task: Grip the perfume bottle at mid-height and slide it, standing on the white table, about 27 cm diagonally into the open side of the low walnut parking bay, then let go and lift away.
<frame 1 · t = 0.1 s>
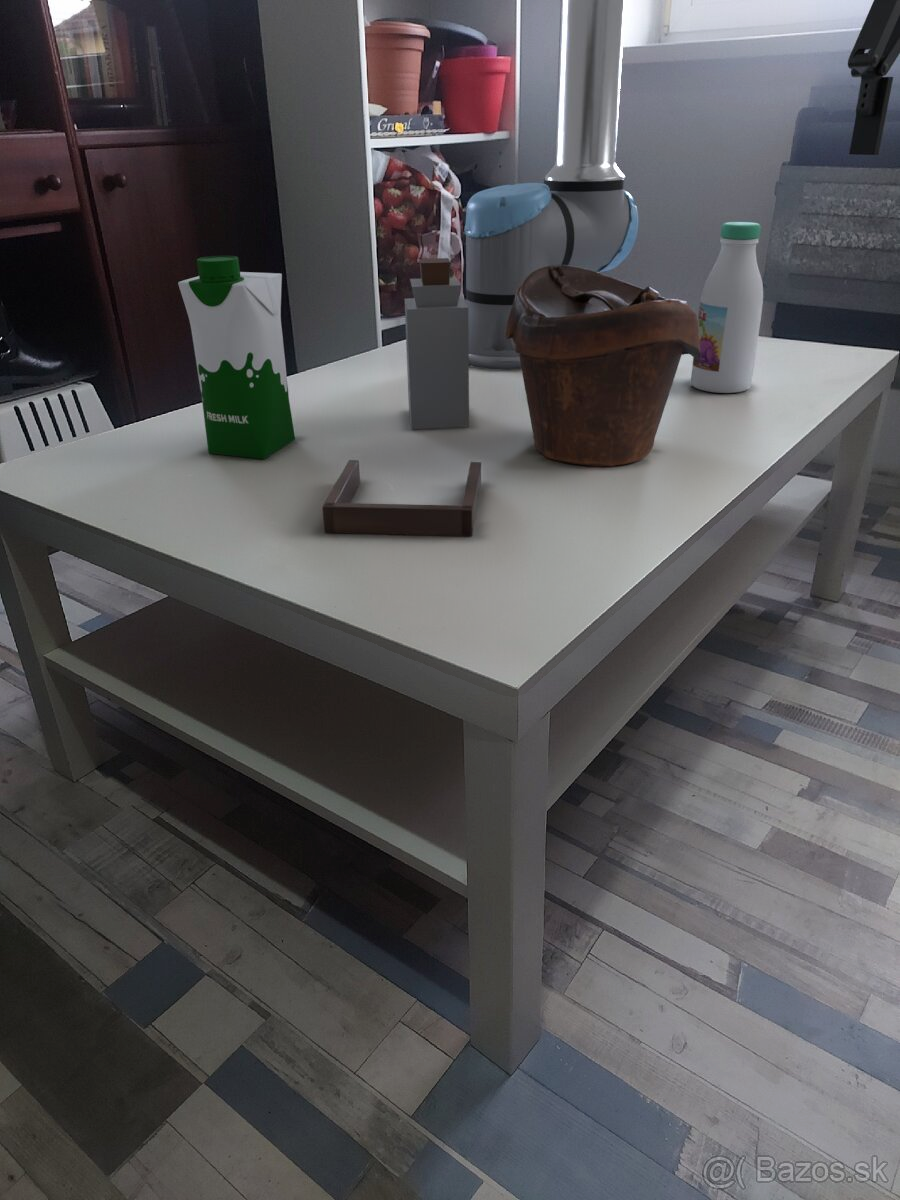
milk bottle: (720, 388, 118), on the table
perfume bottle: (438, 421, 107), on the table
parking bay: (407, 506, 83), on the table
case: (595, 450, 97), on the table
milk carton: (253, 448, 99), on the table
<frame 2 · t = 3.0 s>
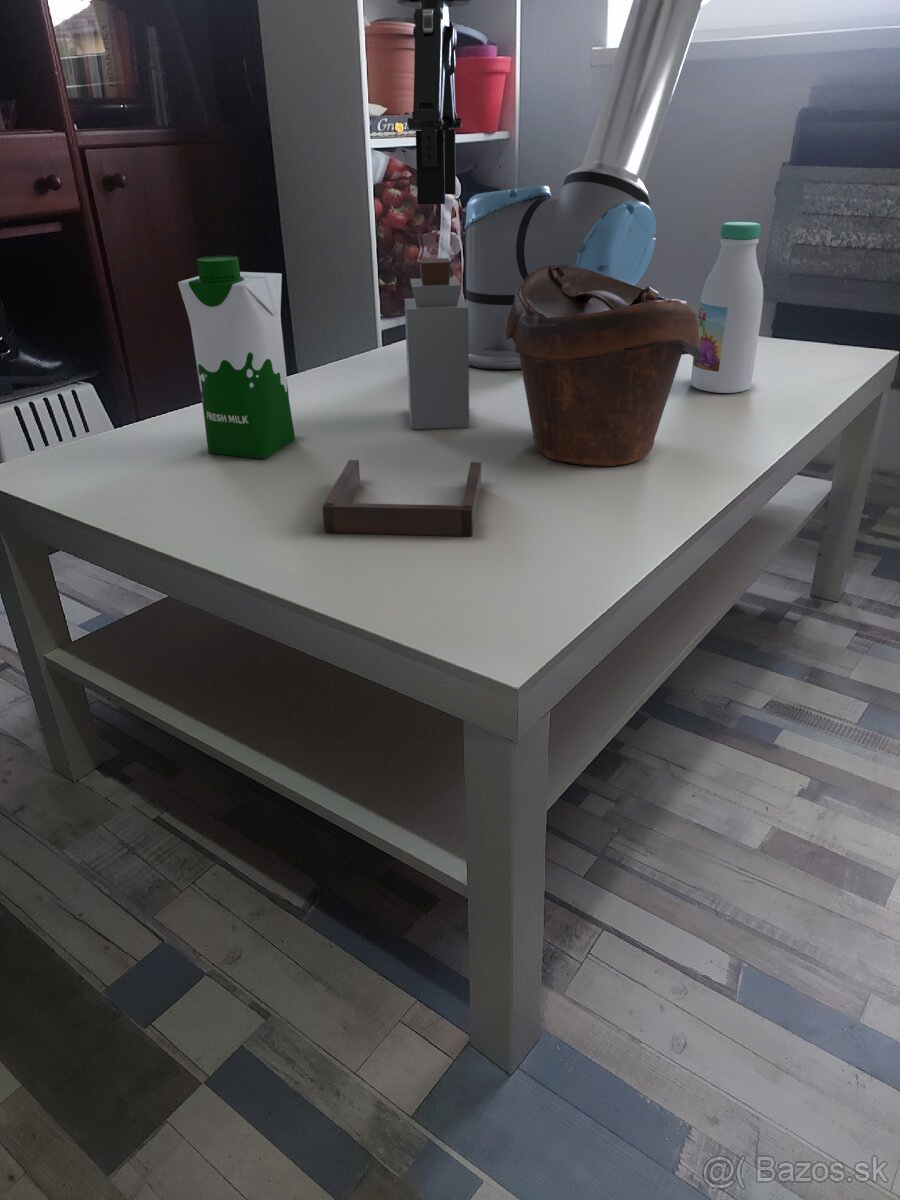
hand: (437, 199, 95), 24 cm above the table, tool pointing down, fingers open, 13 cm apart
nothing on the table moved.
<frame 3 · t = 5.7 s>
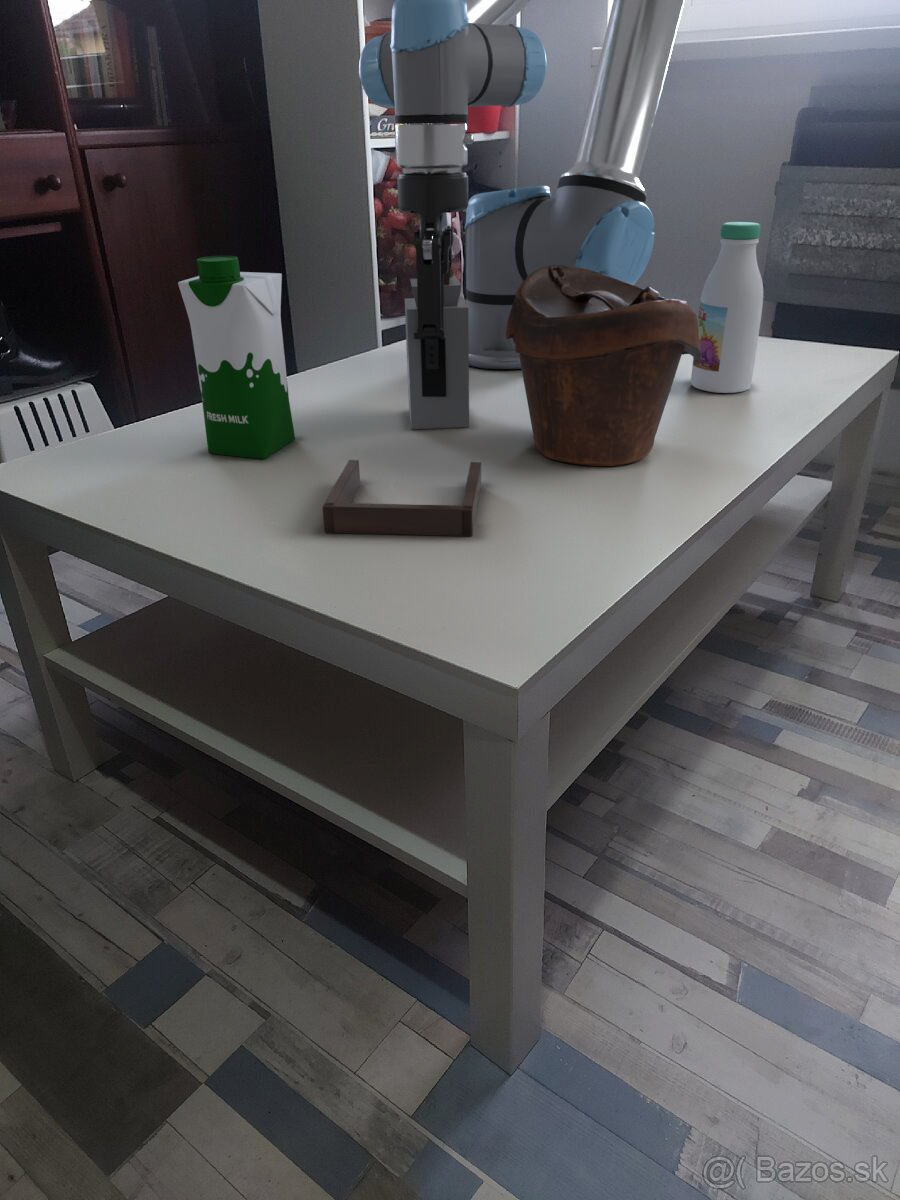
hand: (437, 387, 105), 4 cm above the table, tool pointing down, fingers closed on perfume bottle, 6 cm apart
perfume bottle: (438, 421, 107), on the table, touching gripper
everything else where it was.
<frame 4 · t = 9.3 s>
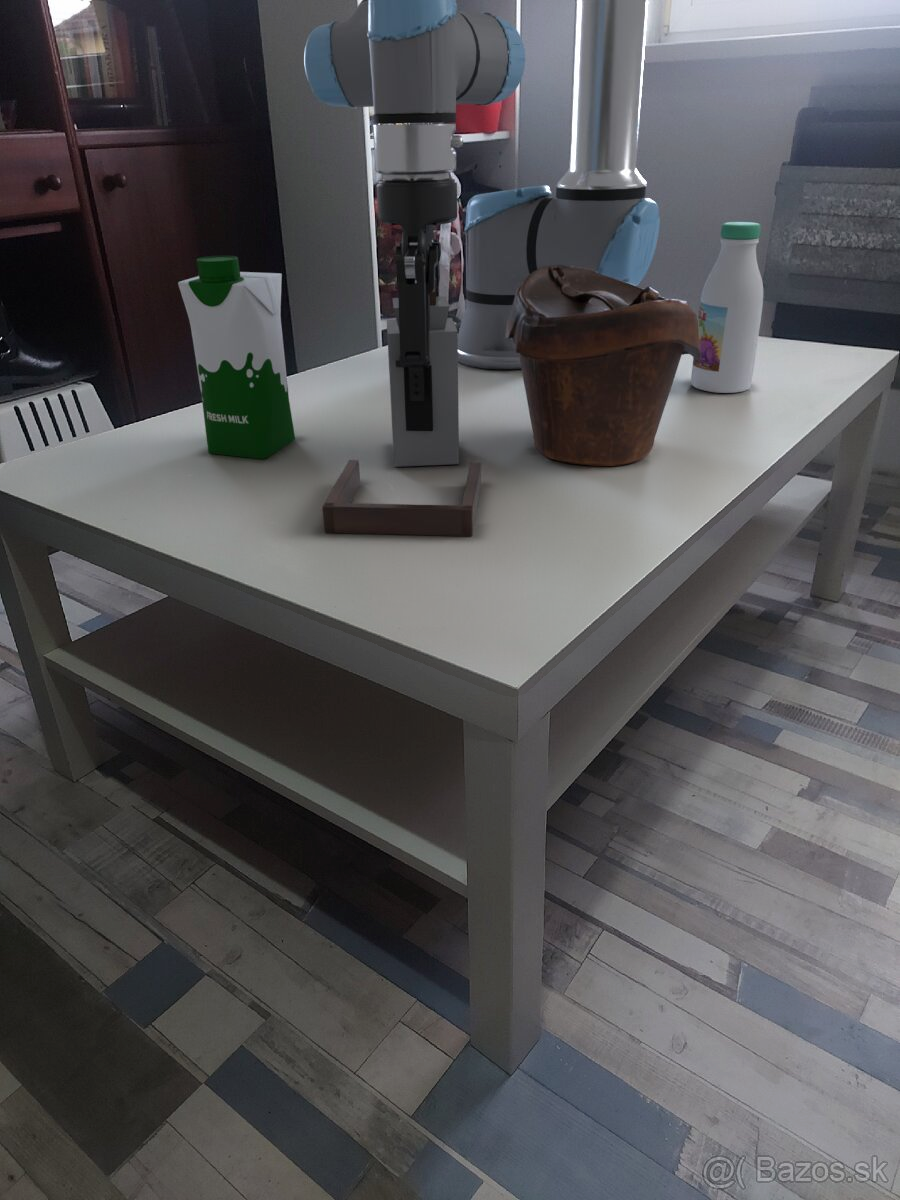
hand: (423, 419, 93), 4 cm above the table, tool pointing down, fingers closed on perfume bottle, 6 cm apart
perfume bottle: (425, 456, 95), on the table, touching gripper
everything else where it was.
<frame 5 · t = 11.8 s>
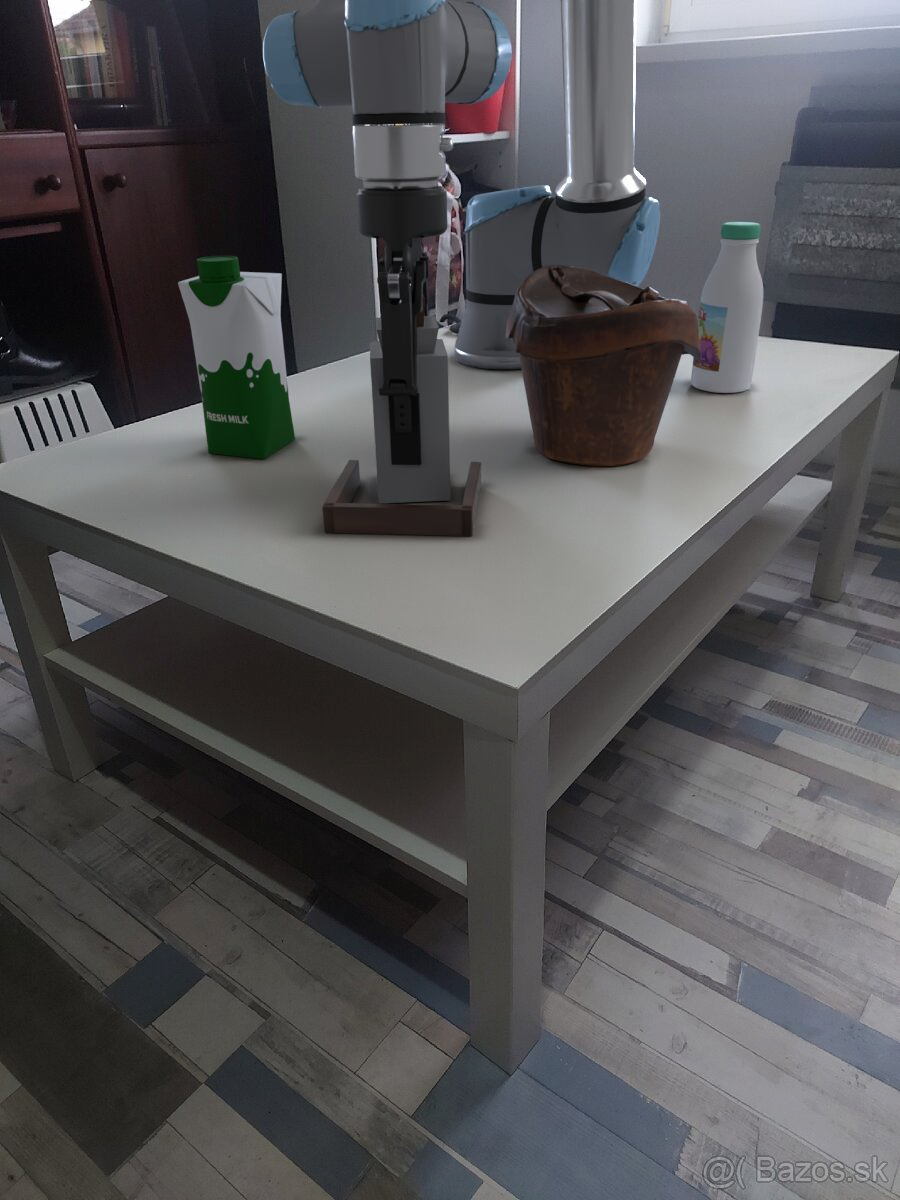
hand: (411, 450, 85), 4 cm above the table, tool pointing down, fingers closed on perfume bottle, 6 cm apart
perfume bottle: (413, 490, 87), on the table, touching gripper
everything else where it was.
when the fingers open (4 cm above the table, at t = 13.2 s): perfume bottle stays where it is, on the table.
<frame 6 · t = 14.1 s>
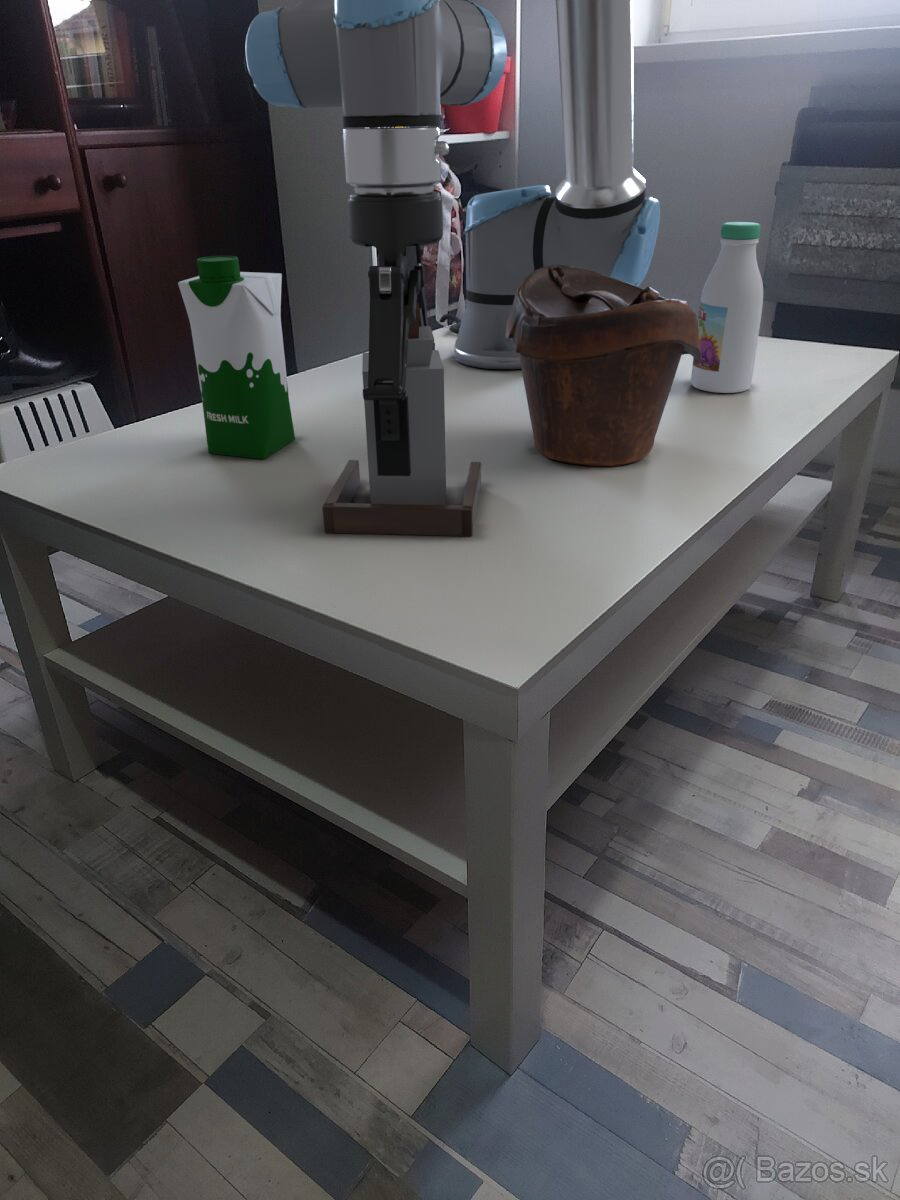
hand: (405, 448, 80), 6 cm above the table, tool pointing down, fingers open, 13 cm apart
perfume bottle: (407, 507, 83), on the table
everything else where it was.
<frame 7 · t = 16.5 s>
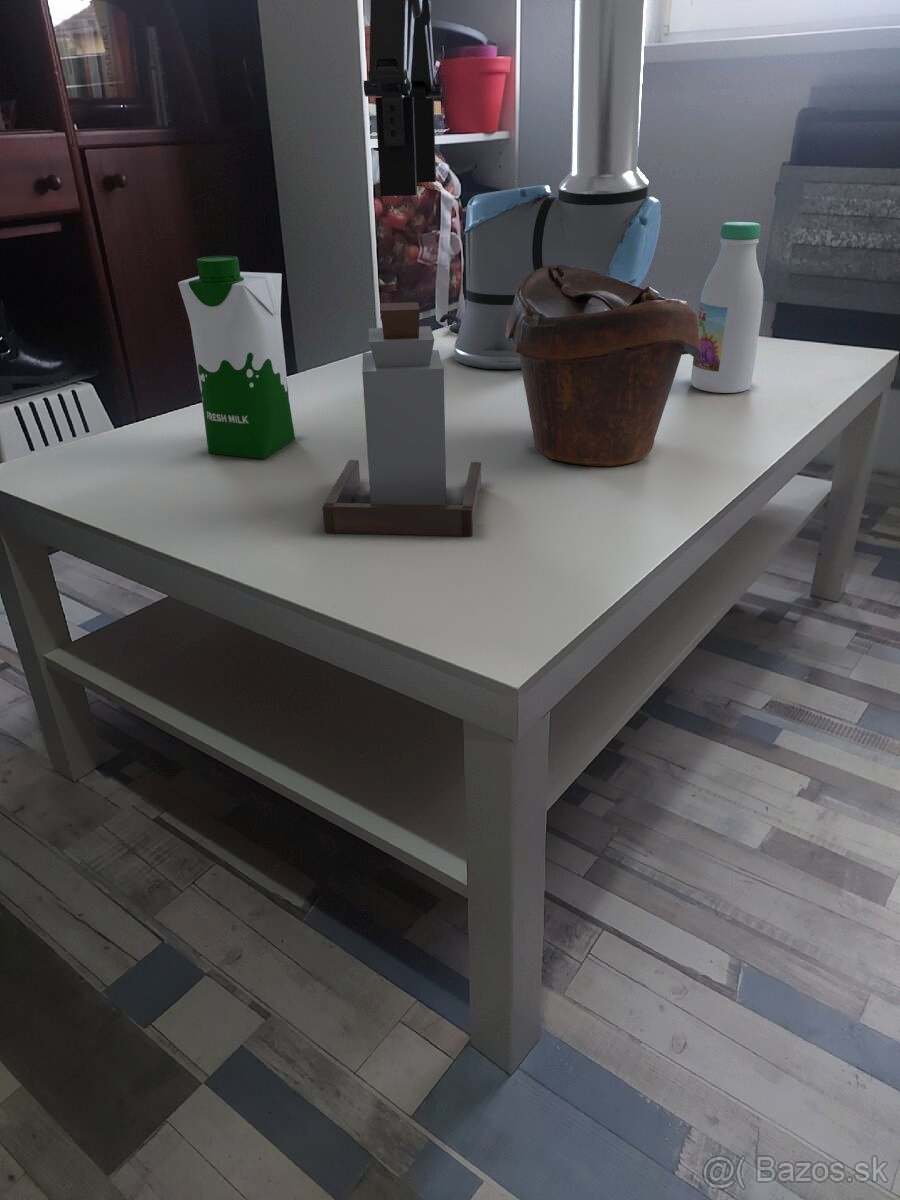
hand: (410, 188, 73), 27 cm above the table, tool pointing down, fingers open, 13 cm apart
nothing on the table moved.
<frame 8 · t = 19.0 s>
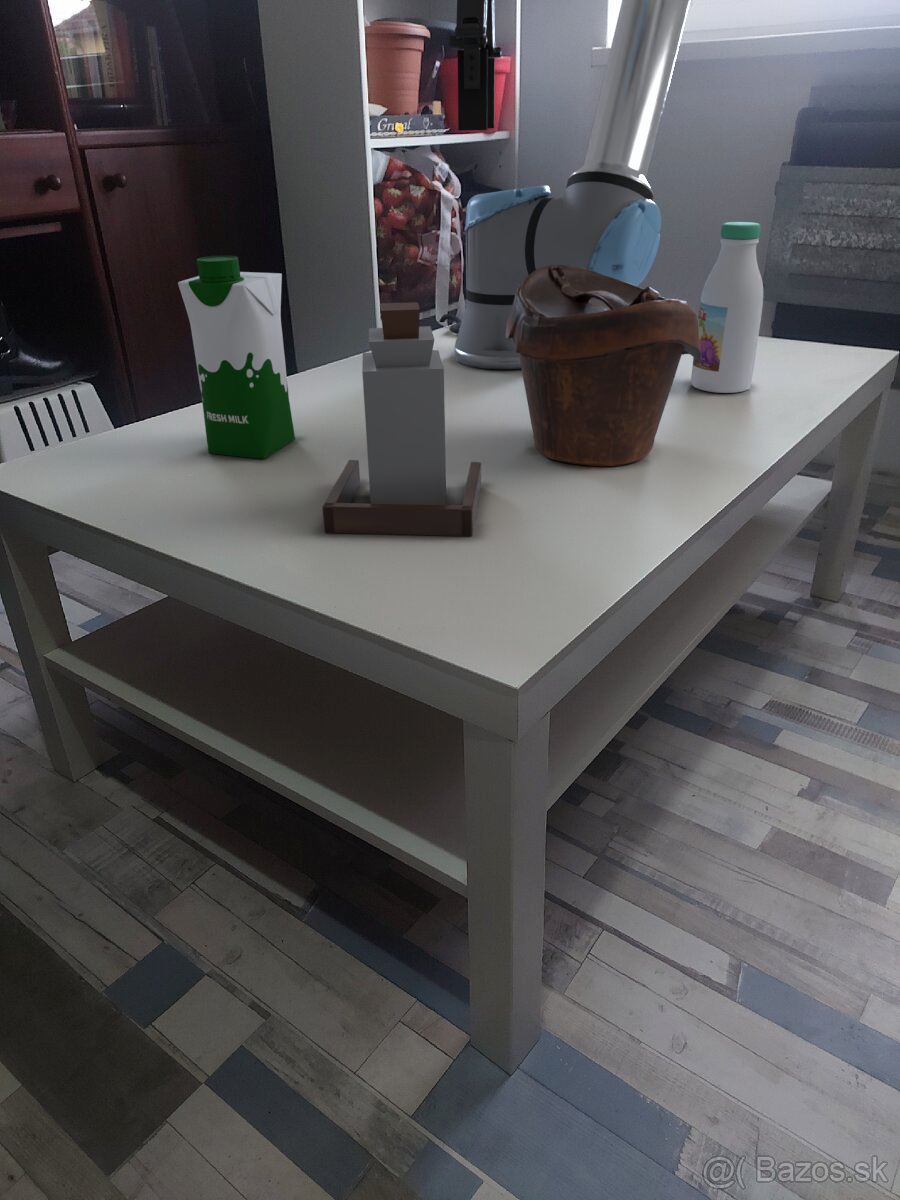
hand: (477, 129, 90), 31 cm above the table, tool pointing down, fingers open, 13 cm apart
nothing on the table moved.
at the end: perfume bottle 0.1 cm from the parking bay (horizontally); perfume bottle tilted 0°; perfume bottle moved 27.0 cm from its start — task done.
